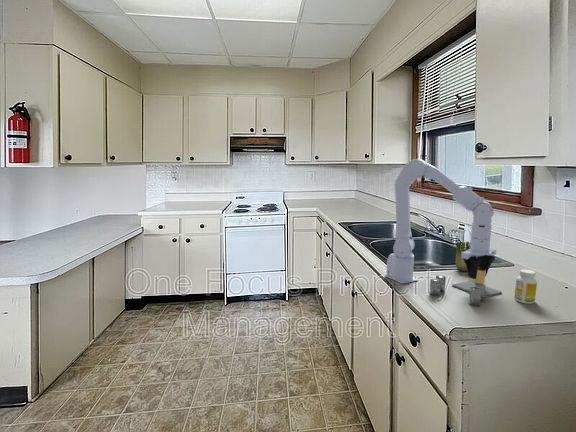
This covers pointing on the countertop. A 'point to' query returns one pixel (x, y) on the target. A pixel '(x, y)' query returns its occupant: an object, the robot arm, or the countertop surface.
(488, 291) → the mat
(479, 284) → the cylinder
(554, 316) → the countertop surface
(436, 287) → the cylinder
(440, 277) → the cylinder
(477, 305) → the cylinder
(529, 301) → the supplement bottle
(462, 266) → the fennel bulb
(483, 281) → the nut
